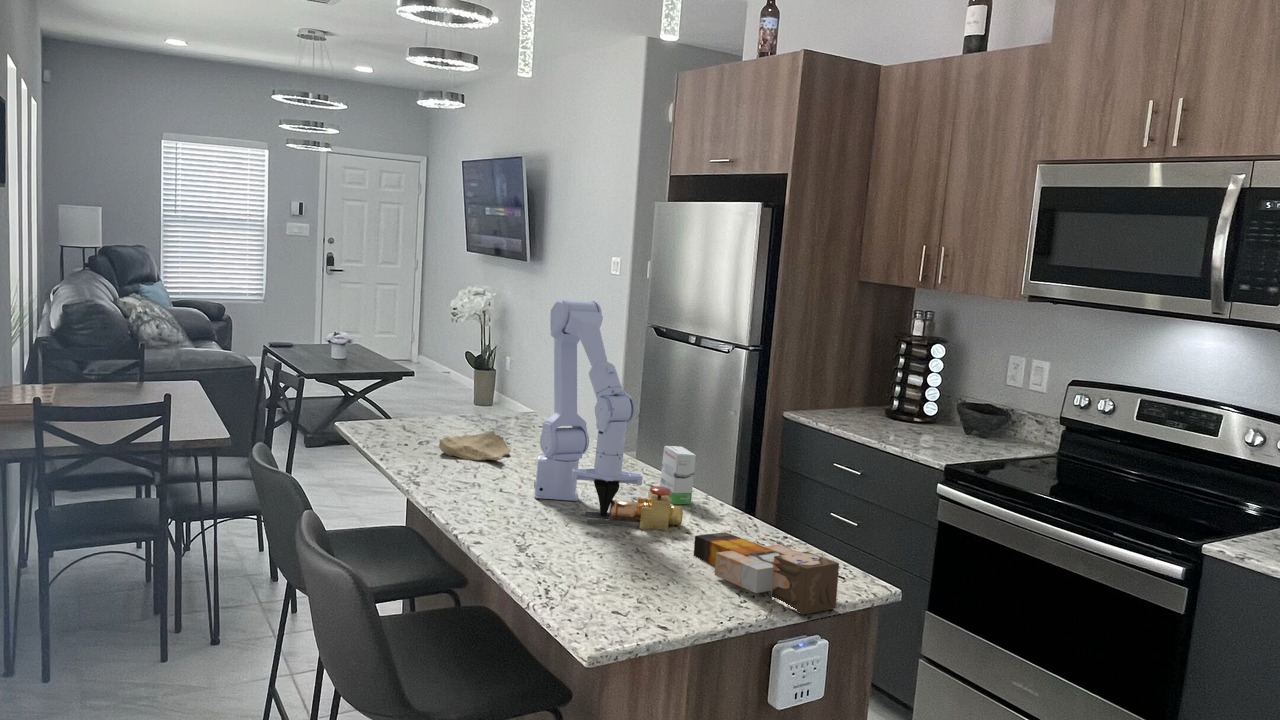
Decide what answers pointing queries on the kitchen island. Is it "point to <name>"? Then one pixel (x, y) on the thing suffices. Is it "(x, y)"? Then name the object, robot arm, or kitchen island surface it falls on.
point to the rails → (607, 521)
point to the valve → (659, 510)
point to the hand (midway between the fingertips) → (603, 515)
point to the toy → (772, 570)
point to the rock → (475, 446)
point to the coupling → (626, 510)
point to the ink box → (678, 473)
